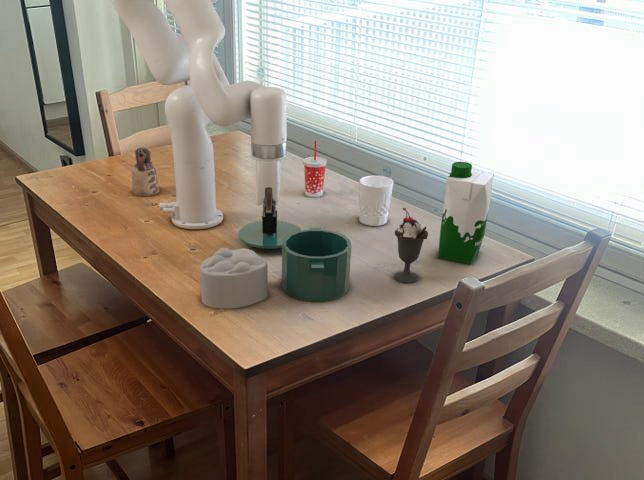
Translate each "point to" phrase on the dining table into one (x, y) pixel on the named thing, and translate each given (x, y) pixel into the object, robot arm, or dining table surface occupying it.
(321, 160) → the beverage cup
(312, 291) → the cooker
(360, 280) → the dining table surface
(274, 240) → the lid
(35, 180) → the dining table surface
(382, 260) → the dining table surface
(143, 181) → the figurine
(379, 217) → the white cup
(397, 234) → the sundae
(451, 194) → the milk carton
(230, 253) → the lumpy-topped squat cylinder
